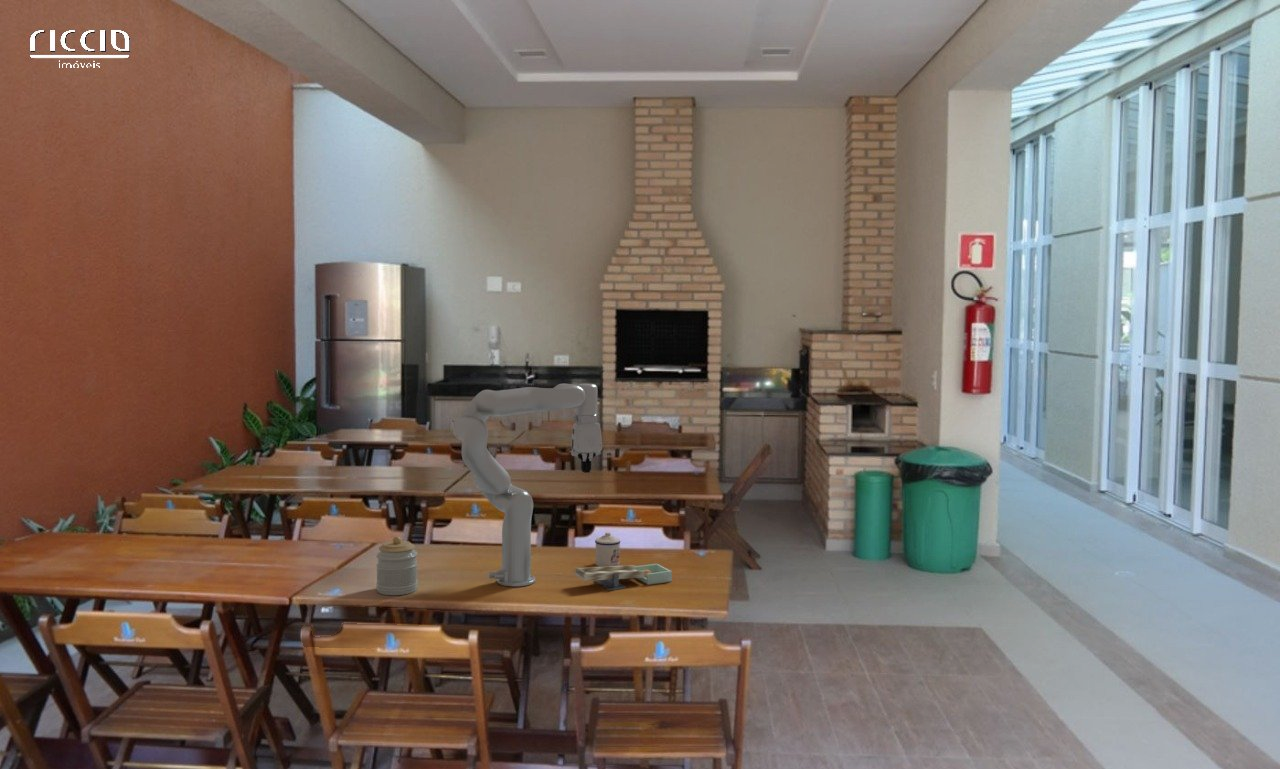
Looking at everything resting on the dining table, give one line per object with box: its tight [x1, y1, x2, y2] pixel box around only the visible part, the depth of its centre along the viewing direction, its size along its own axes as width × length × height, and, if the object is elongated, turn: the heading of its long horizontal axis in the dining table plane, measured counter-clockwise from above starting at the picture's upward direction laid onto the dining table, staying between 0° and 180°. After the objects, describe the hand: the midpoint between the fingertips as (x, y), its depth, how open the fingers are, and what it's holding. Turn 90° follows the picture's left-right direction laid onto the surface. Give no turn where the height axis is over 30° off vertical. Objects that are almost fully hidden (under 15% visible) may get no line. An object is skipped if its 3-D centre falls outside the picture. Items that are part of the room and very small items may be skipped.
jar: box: [375, 535, 419, 596], centre depth 304 cm, size 13×13×18 cm
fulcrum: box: [593, 574, 627, 591], centre depth 313 cm, size 6×12×5 cm, turn 27°
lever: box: [574, 564, 645, 582], centre depth 315 cm, size 22×13×3 cm, turn 117°
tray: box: [635, 563, 673, 586], centre depth 320 cm, size 9×11×4 cm
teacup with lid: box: [594, 532, 621, 567], centre depth 339 cm, size 12×9×12 cm
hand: (585, 472), depth 326 cm, fingers closed
